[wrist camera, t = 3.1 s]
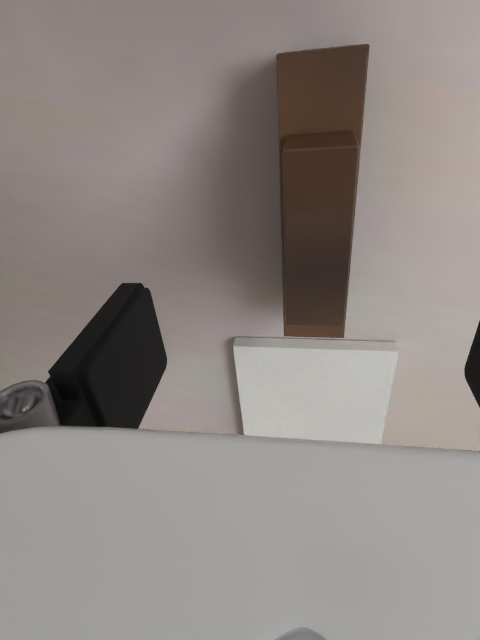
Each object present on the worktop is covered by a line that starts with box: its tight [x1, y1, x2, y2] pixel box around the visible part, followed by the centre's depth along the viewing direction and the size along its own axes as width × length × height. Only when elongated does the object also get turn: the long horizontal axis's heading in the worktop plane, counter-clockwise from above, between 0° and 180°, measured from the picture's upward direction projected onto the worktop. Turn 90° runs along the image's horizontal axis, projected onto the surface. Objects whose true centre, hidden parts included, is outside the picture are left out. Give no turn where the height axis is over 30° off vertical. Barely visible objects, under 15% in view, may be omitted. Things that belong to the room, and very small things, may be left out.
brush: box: [277, 44, 369, 338], centre depth 16 cm, size 12×3×6 cm, turn 5°
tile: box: [233, 337, 399, 444], centre depth 28 cm, size 14×10×1 cm
